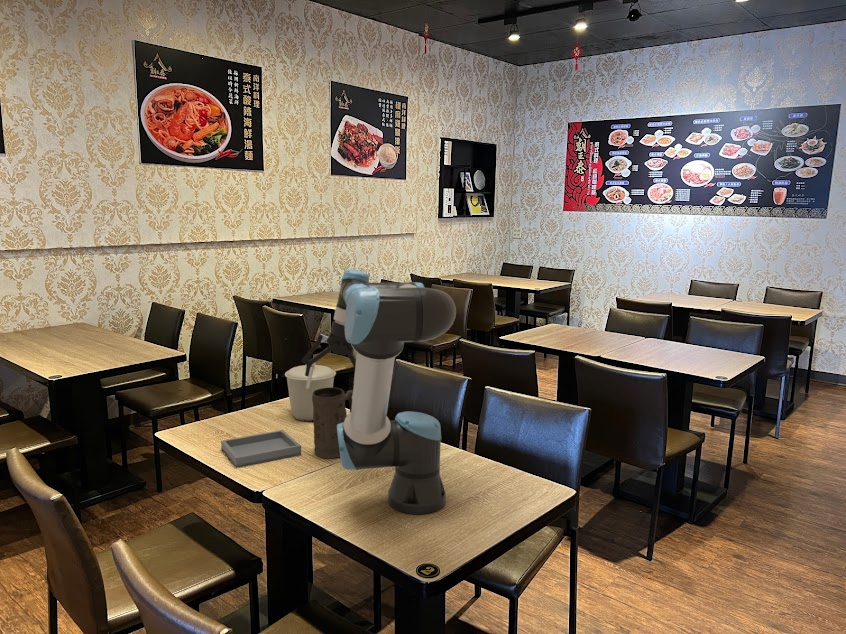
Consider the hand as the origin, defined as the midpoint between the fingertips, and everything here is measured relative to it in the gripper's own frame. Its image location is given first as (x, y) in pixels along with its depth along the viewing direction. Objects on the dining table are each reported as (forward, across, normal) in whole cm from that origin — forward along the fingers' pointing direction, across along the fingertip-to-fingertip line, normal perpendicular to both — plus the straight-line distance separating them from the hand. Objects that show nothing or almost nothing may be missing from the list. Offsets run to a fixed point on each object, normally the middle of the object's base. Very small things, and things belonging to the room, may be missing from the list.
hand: (330, 392), depth 184 cm
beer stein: (+21, -5, -10) cm, 24 cm away
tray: (+26, +18, -8) cm, 32 cm away
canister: (+24, +8, -42) cm, 49 cm away
